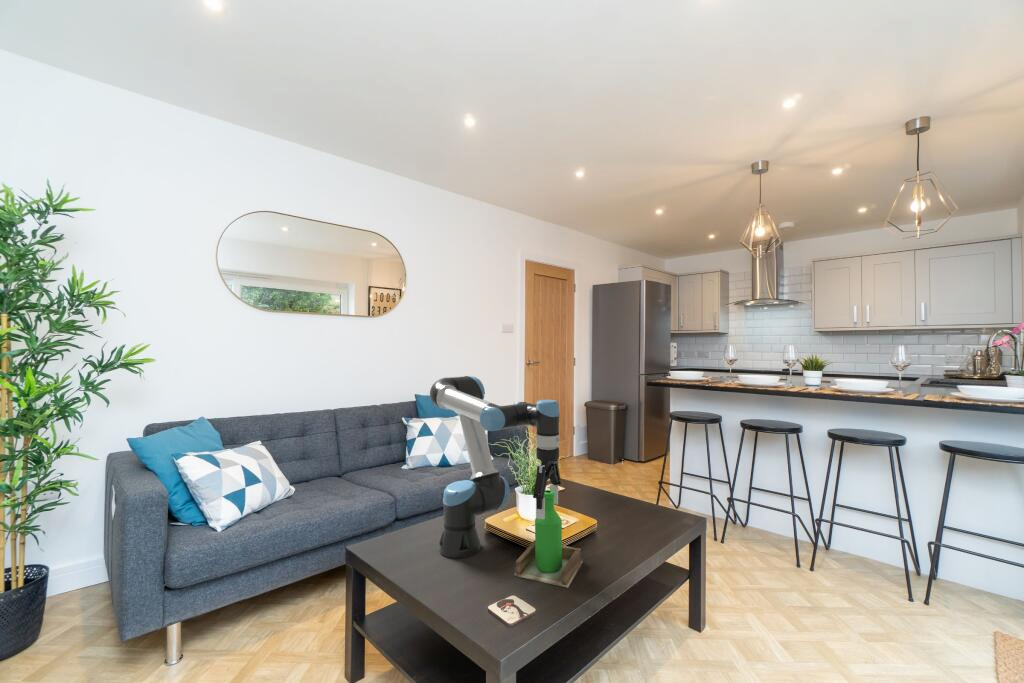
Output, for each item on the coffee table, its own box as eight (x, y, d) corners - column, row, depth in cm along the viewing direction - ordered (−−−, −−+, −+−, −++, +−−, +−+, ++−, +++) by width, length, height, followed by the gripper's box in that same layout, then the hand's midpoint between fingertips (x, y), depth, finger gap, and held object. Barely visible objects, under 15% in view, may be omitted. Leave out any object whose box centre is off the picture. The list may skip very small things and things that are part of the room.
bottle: (560, 575, 141) (559, 496, 141) (533, 572, 143) (532, 495, 143) (563, 561, 150) (562, 488, 150) (537, 559, 151) (537, 486, 152)
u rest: (514, 575, 143) (514, 561, 143) (533, 552, 158) (533, 539, 158) (568, 587, 135) (567, 572, 135) (582, 562, 151) (582, 549, 151)
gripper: (545, 457, 134) (545, 527, 134) (569, 440, 156) (569, 499, 156) (522, 454, 137) (522, 523, 137) (549, 438, 159) (549, 496, 160)
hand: (547, 510), depth 147 cm, fingers open, 13 cm apart
